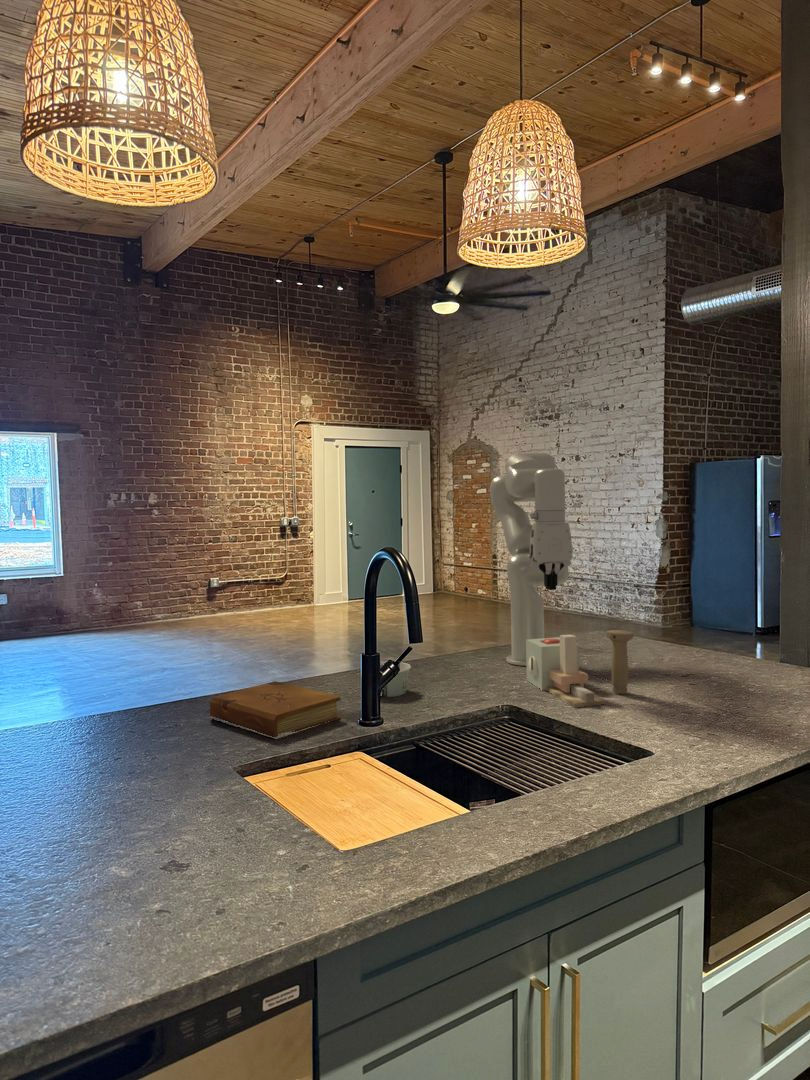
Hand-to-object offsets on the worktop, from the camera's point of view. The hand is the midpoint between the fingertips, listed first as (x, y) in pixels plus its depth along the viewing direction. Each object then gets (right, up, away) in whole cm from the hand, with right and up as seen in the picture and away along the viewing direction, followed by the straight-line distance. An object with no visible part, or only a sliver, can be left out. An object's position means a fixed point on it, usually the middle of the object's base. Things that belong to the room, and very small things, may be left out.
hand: (550, 589), depth 192 cm
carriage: (+3, -24, -8) cm, 25 cm away
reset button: (0, -16, +1) cm, 16 cm away
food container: (-42, -26, -2) cm, 49 cm away
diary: (-66, -28, -23) cm, 76 cm away
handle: (+15, -25, -9) cm, 31 cm away
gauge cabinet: (+1, -25, +1) cm, 25 cm away
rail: (+4, -25, -12) cm, 28 cm away
